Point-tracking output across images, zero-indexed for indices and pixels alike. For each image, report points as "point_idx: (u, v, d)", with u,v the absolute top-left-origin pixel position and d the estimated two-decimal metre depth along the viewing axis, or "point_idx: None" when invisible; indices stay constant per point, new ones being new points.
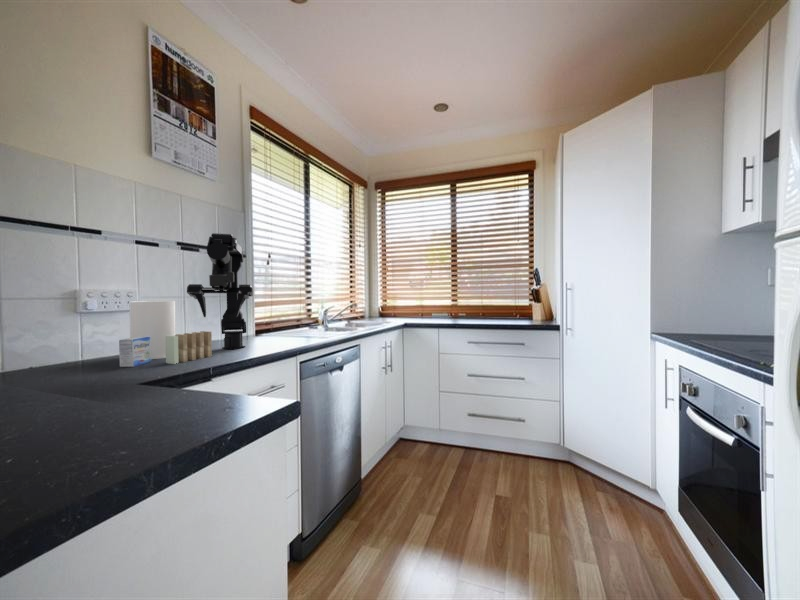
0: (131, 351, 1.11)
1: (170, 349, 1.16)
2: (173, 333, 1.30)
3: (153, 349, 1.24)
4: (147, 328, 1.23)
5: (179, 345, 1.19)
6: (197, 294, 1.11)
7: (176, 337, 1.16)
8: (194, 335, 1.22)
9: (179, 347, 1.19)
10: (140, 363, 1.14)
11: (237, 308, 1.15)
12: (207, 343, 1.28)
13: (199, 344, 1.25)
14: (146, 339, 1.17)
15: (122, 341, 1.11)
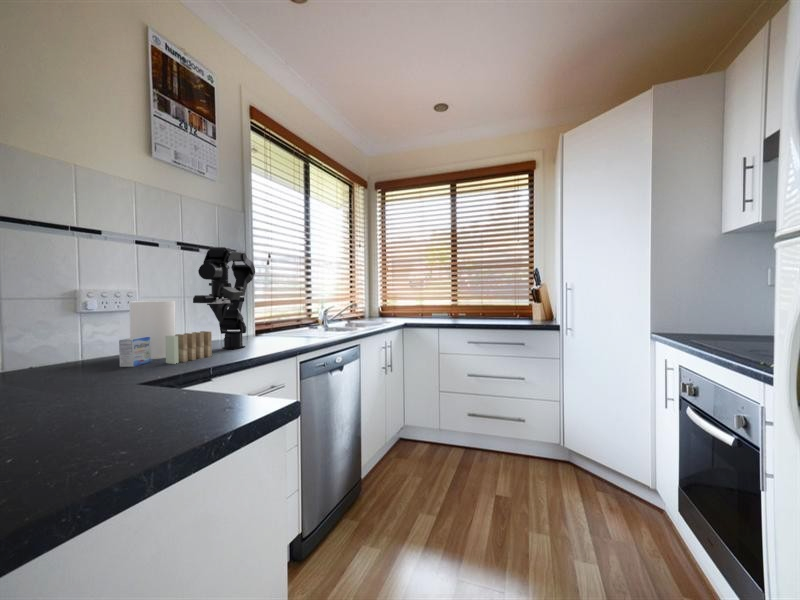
0: (131, 351, 1.11)
1: (170, 349, 1.16)
2: (173, 333, 1.30)
3: (153, 349, 1.24)
4: (147, 328, 1.23)
5: (179, 345, 1.19)
6: (221, 304, 1.32)
7: (176, 337, 1.16)
8: (194, 335, 1.22)
9: (179, 347, 1.19)
10: (140, 363, 1.14)
11: (223, 315, 1.35)
12: (207, 343, 1.28)
13: (199, 344, 1.25)
14: (146, 339, 1.17)
15: (122, 341, 1.11)
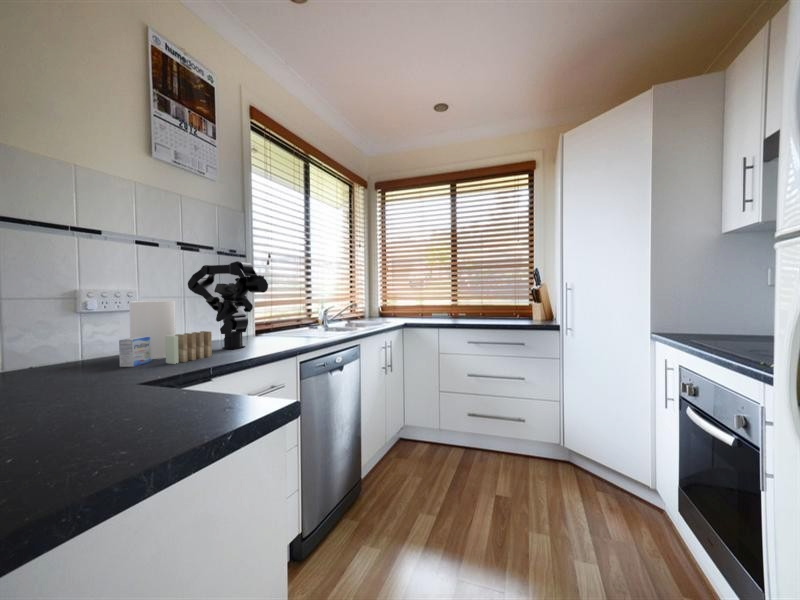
0: (131, 351, 1.11)
1: (170, 349, 1.16)
2: (173, 333, 1.30)
3: (153, 349, 1.24)
4: (147, 328, 1.23)
5: (179, 345, 1.19)
6: (218, 302, 1.36)
7: (176, 337, 1.16)
8: (194, 335, 1.22)
9: (179, 347, 1.19)
10: (140, 363, 1.14)
11: (220, 314, 1.33)
12: (207, 343, 1.28)
13: (199, 344, 1.25)
14: (146, 339, 1.17)
15: (122, 341, 1.11)
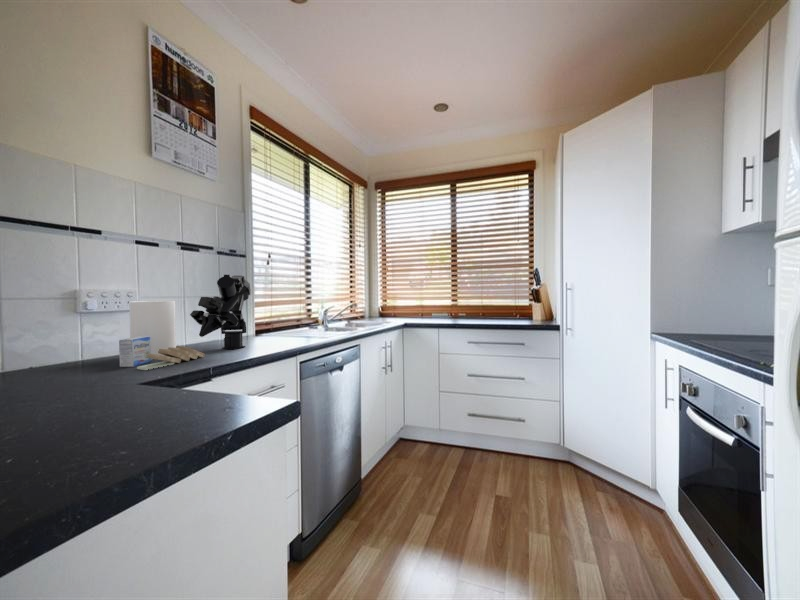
0: (131, 351, 1.11)
1: None
2: (173, 333, 1.30)
3: (153, 349, 1.24)
4: (147, 328, 1.23)
5: None
6: (202, 316, 1.30)
7: (147, 369, 1.07)
8: (170, 351, 1.13)
9: (163, 360, 1.13)
10: (140, 363, 1.14)
11: (204, 329, 1.27)
12: None
13: None
14: (146, 339, 1.17)
15: (122, 341, 1.11)
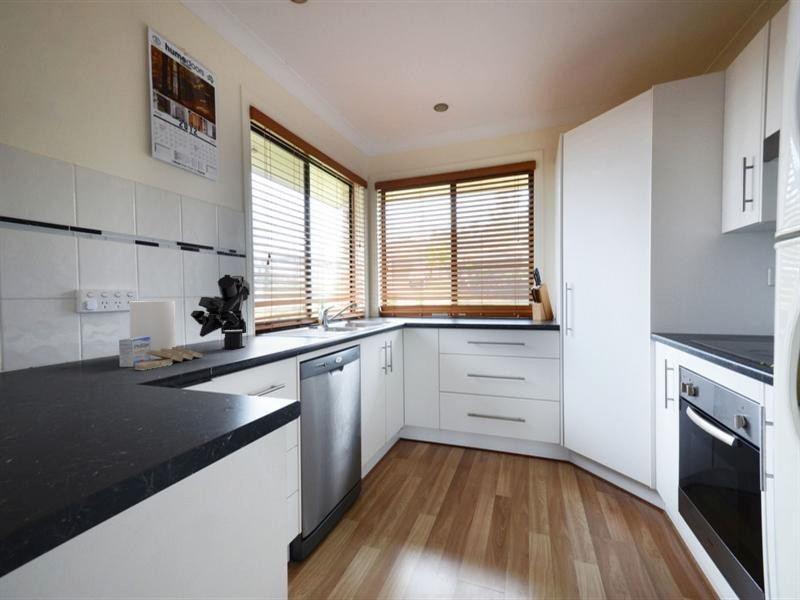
0: (131, 351, 1.11)
1: None
2: (173, 333, 1.30)
3: (153, 349, 1.24)
4: (147, 328, 1.23)
5: None
6: (203, 316, 1.30)
7: None
8: (159, 352, 1.11)
9: None
10: None
11: (204, 329, 1.28)
12: (189, 354, 1.22)
13: None
14: (146, 339, 1.17)
15: (122, 341, 1.11)
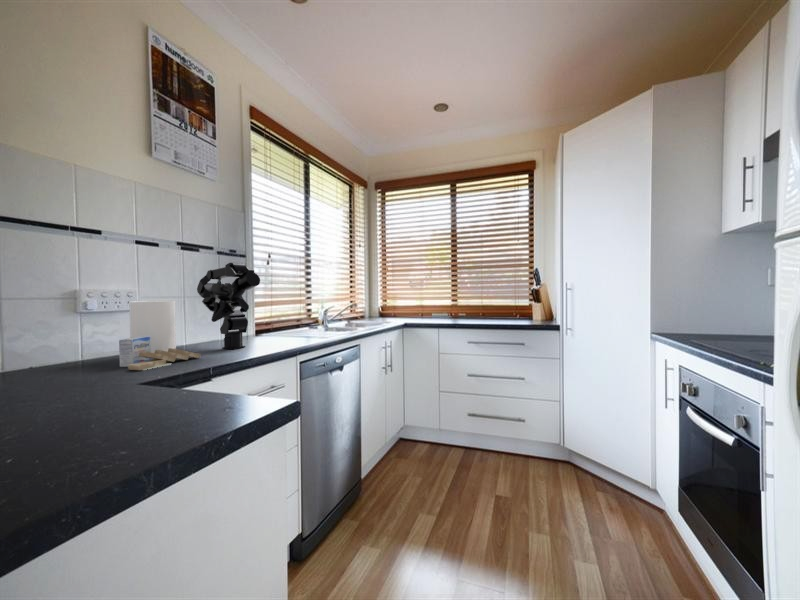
0: (131, 351, 1.11)
1: None
2: (173, 333, 1.30)
3: (153, 349, 1.24)
4: (147, 328, 1.23)
5: None
6: (214, 302, 1.35)
7: None
8: (147, 353, 1.10)
9: None
10: None
11: (216, 314, 1.32)
12: None
13: None
14: (146, 339, 1.17)
15: (122, 341, 1.11)
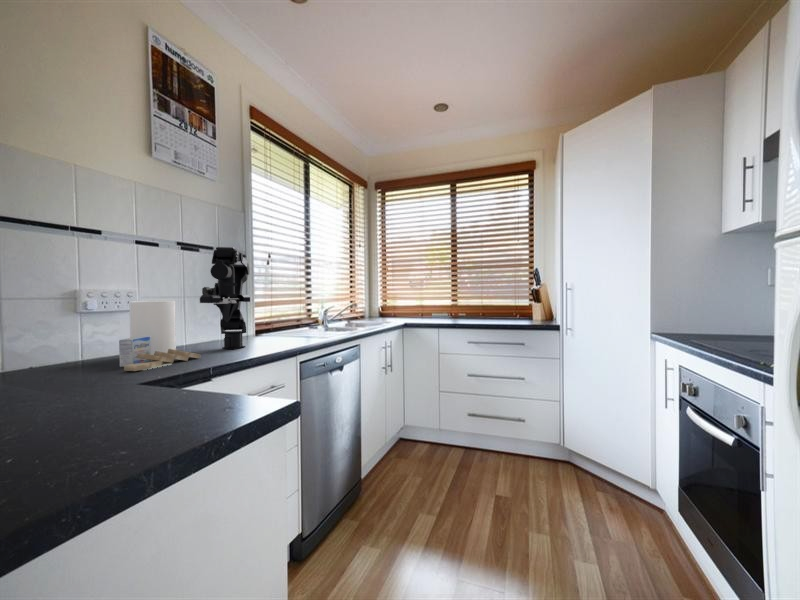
0: (131, 351, 1.11)
1: None
2: (173, 333, 1.30)
3: (153, 349, 1.24)
4: (147, 328, 1.23)
5: None
6: None
7: None
8: (145, 355, 1.09)
9: None
10: None
11: None
12: None
13: None
14: (146, 339, 1.17)
15: (122, 341, 1.11)
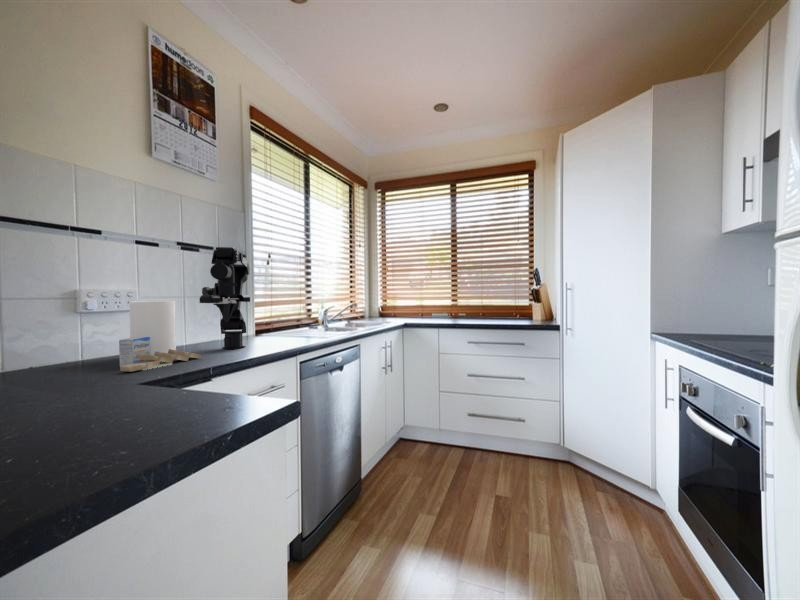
0: (131, 351, 1.11)
1: None
2: (173, 333, 1.30)
3: (153, 349, 1.24)
4: (147, 328, 1.23)
5: None
6: None
7: None
8: (144, 355, 1.09)
9: None
10: None
11: None
12: (186, 356, 1.21)
13: (172, 358, 1.17)
14: (146, 339, 1.17)
15: (122, 341, 1.11)
